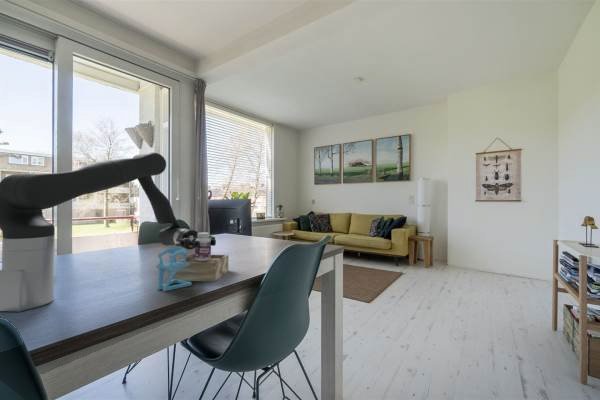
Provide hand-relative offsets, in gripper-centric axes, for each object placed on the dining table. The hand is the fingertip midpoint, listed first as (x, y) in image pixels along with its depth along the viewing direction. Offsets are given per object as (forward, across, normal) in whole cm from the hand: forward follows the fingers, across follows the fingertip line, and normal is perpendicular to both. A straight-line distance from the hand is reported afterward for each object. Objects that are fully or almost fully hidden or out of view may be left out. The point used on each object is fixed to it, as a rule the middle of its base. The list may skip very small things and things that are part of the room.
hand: (206, 243), depth 93 cm
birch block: (-2, 0, +12) cm, 12 cm away
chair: (+4, -13, +12) cm, 18 cm away
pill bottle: (-3, 0, +6) cm, 7 cm away
